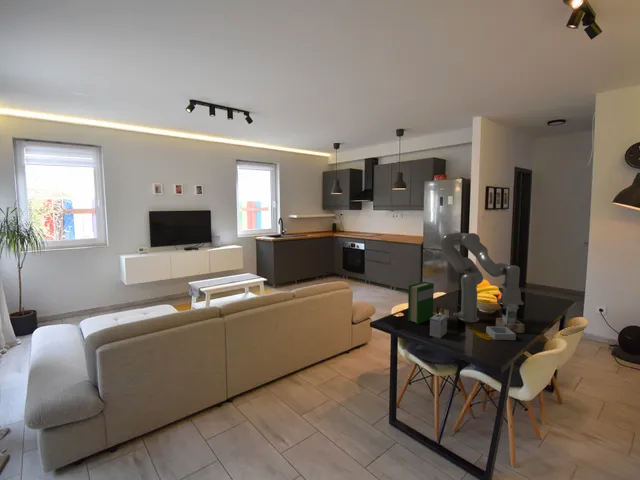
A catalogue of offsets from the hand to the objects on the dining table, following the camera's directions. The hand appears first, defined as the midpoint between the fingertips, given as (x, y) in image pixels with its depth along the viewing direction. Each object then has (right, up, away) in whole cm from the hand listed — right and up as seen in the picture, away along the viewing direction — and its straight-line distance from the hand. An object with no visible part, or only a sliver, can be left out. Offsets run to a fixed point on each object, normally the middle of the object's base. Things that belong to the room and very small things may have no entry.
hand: (509, 314), depth 204 cm
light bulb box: (-46, -10, -7) cm, 47 cm away
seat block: (-11, -10, -10) cm, 18 cm away
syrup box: (0, -7, +1) cm, 7 cm away
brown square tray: (0, -9, +1) cm, 9 cm away
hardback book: (-49, -8, +19) cm, 53 cm away
